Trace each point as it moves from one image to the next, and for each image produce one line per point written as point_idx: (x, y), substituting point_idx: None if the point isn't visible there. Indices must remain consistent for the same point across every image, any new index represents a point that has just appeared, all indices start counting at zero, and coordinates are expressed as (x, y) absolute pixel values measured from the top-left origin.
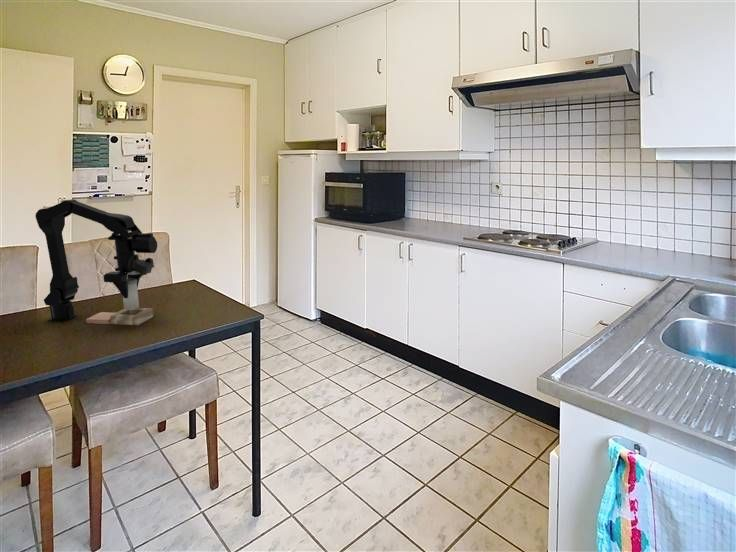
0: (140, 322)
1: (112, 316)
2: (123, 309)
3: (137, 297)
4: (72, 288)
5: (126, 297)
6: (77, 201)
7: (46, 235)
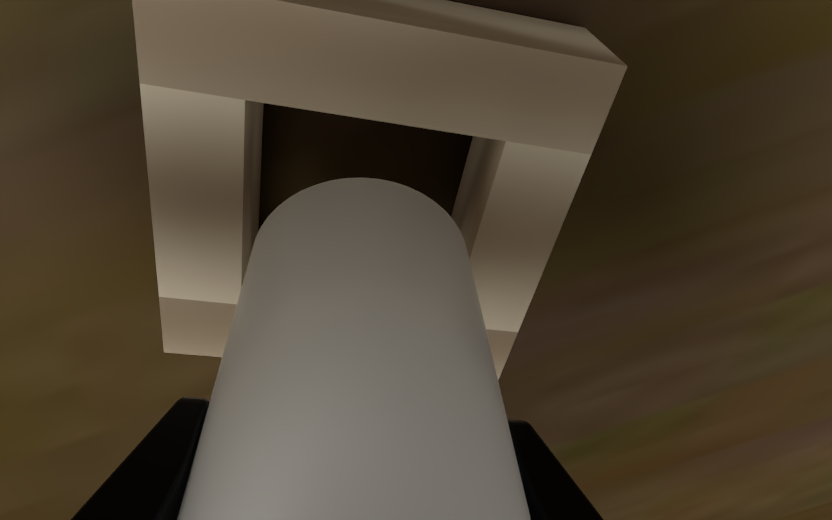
0: (536, 22)
1: (506, 356)
2: None
3: (358, 292)
4: None
5: (533, 438)
6: None
7: None
